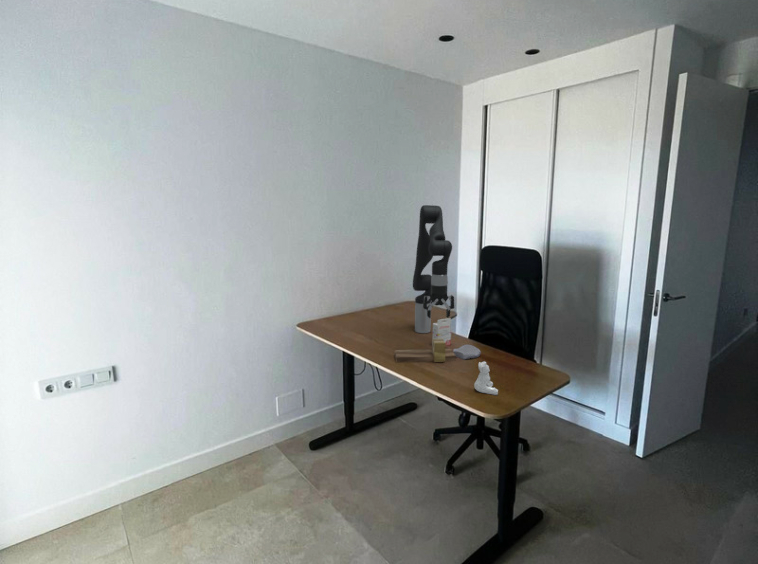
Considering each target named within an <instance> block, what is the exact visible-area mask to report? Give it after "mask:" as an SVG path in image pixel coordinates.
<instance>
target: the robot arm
mask: <svg viewBox="0 0 758 564" xmlns="http://www.w3.org/2000/svg"><path fill="white" fill-rule="evenodd" d="M443 217H444V216H443V210H442V207H441V206H440V205H433V204H432V205H427V204H426V205H422V206H421V207H420V209H419V224H418V227H419V228H418V238H417V239H418V240H417V244H416V245H417V247H416V254H415V255H416V257H415V266H414V271H413V278H412V288H413V290H414V291H417V292H423V293H421V294H420V295H417V296H415V299H414V306H415V307H414V332H416V333H418V334H428V333H430V332H431V331H432V322H431V321H432V308H433V307H434V306H445V308H446V310H445V314H446V315H445V316H446V318H450V316H451V311H452V310H453V309H455V297H454V296H453V295H452V294H451V295H448V285H449V284H448V283H449V281H448V265H449V262H450V261H449V260H450V256H451V253H452V251H453V245H452V242H451V241H450V240H446V234H445V231H444V220H443ZM427 224H431V227H430V228H429V230H427V229H428V228H427V226H426V225H427ZM434 257H442V258H440V259H439V260H434V261H433V262H432V264H431V274H422V272H423V271H424V269H425V268H426V267H427V266H428V265H429V263H430V262H431V261H432V260H433V258H434ZM447 301H450V305H449V304H448V303H447Z"/></svg>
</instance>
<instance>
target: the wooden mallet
mask: <svg viewBox="0 0 758 564" xmlns="http://www.w3.org/2000/svg"><path fill="white" fill-rule="evenodd" d="M431 349H432V354H433V356H434V361H433V362H434V363H442V362H443V363H445V362H446V361H445V349H446V343H445V342H444V340H443V339H433V338H432V339H431Z"/></svg>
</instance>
